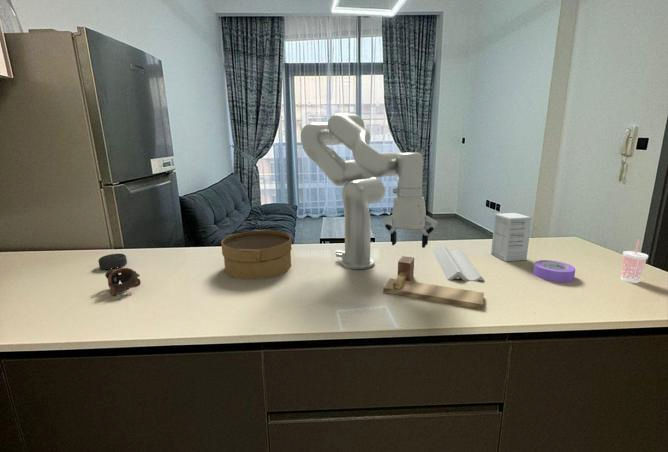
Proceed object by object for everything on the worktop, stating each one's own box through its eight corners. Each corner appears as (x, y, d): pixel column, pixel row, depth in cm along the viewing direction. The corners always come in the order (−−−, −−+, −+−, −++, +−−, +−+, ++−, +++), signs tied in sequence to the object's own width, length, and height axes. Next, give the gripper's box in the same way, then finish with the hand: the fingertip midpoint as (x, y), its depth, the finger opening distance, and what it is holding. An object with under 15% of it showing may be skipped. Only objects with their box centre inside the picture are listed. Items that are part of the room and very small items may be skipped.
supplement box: (527, 260, 128) (533, 217, 124) (505, 262, 127) (510, 218, 123) (510, 252, 138) (515, 212, 134) (490, 253, 136) (494, 213, 132)
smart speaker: (117, 270, 124) (116, 260, 123) (94, 270, 124) (92, 260, 123) (132, 262, 133) (130, 252, 132) (110, 262, 133) (108, 253, 132)
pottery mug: (150, 284, 112) (144, 269, 107) (130, 307, 105) (122, 292, 100) (119, 274, 114) (111, 258, 108) (97, 296, 107) (87, 280, 101)
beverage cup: (638, 278, 111) (647, 237, 107) (645, 285, 105) (655, 242, 102) (615, 275, 113) (623, 235, 110) (621, 282, 108) (629, 240, 104)
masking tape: (528, 268, 121) (529, 258, 120) (564, 270, 118) (565, 260, 117) (540, 281, 110) (541, 270, 109) (580, 284, 107) (582, 273, 106)
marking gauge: (389, 293, 102) (390, 271, 100) (401, 275, 116) (402, 256, 114) (402, 295, 101) (403, 273, 99) (413, 277, 114) (414, 257, 113)
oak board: (383, 292, 103) (383, 287, 103) (390, 282, 110) (390, 278, 110) (482, 309, 92) (483, 304, 91) (483, 297, 99) (483, 292, 98)
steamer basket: (272, 284, 110) (270, 251, 108) (209, 276, 118) (205, 245, 116) (303, 259, 133) (301, 232, 130) (248, 255, 141) (246, 228, 138)
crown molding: (483, 283, 110) (484, 272, 109) (446, 282, 112) (446, 272, 111) (460, 252, 140) (461, 244, 139) (431, 251, 142) (431, 243, 141)
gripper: (379, 193, 105) (379, 246, 109) (436, 195, 98) (434, 251, 102) (386, 190, 112) (386, 240, 116) (440, 192, 105) (438, 244, 109)
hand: (408, 245), depth 109 cm, fingers open, 9 cm apart
